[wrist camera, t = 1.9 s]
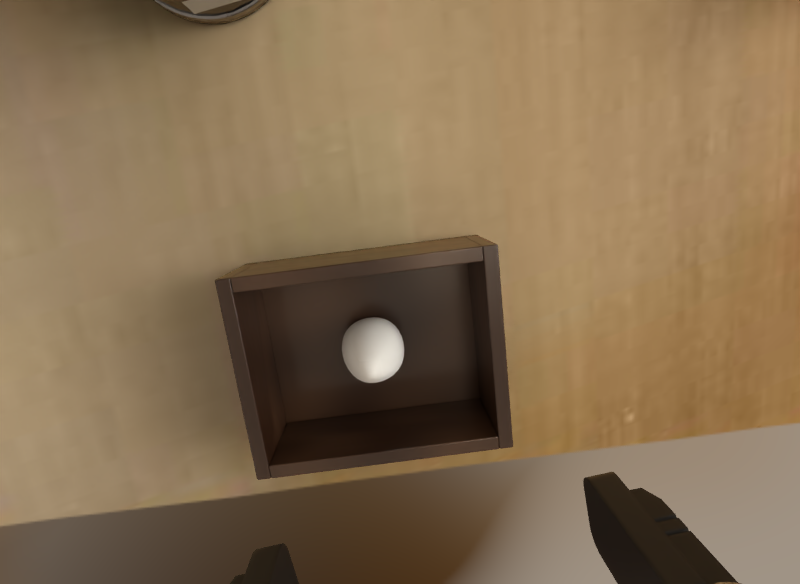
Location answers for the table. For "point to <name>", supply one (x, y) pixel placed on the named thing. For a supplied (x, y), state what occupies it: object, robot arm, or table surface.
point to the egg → (373, 349)
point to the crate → (336, 386)
